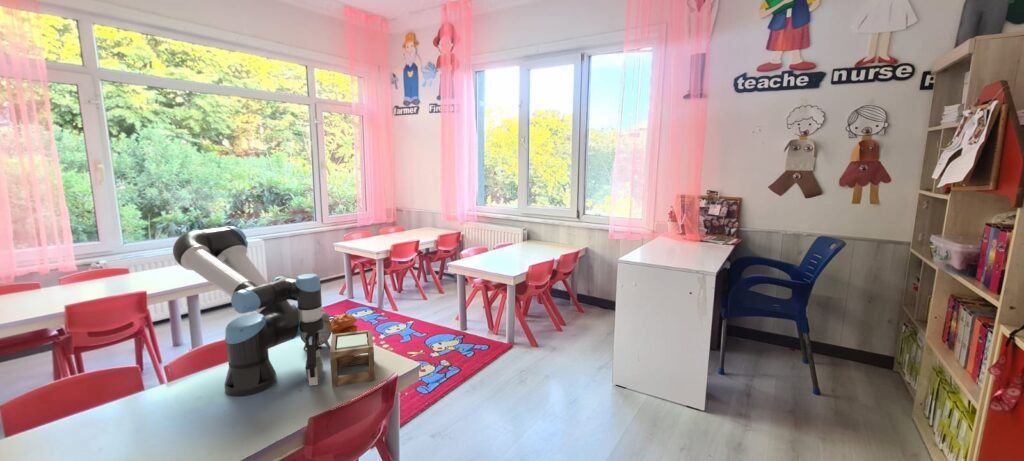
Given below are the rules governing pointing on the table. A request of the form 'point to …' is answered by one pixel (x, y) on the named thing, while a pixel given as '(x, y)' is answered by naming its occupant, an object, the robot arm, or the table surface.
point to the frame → (352, 360)
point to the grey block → (319, 367)
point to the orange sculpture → (343, 325)
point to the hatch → (351, 341)
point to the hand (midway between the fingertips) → (315, 375)
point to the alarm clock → (321, 331)
